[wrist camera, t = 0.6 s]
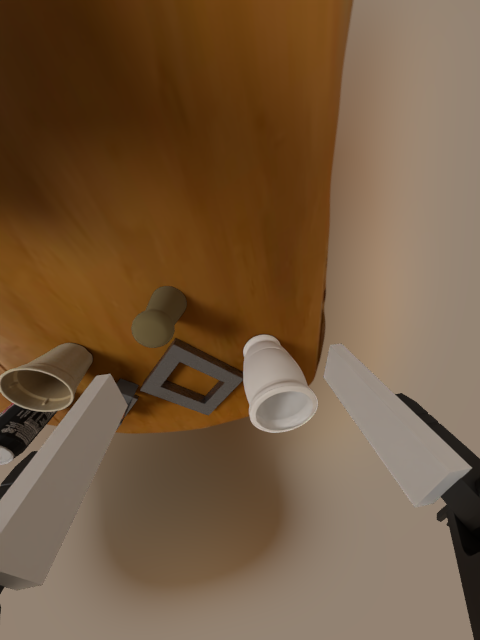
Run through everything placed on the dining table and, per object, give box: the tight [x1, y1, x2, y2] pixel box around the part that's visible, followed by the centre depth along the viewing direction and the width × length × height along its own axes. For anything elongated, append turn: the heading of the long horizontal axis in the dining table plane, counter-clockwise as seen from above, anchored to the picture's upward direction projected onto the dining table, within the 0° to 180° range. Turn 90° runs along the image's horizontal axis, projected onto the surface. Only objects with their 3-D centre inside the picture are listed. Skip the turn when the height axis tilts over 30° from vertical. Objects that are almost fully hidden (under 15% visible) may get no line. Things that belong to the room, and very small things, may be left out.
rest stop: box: [116, 378, 139, 404], centre depth 39 cm, size 4×2×3 cm, turn 52°
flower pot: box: [0, 343, 93, 412], centre depth 32 cm, size 9×9×9 cm
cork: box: [131, 286, 187, 348], centre depth 28 cm, size 6×6×11 cm
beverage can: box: [0, 403, 57, 465], centre depth 33 cm, size 7×7×12 cm
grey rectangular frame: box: [140, 338, 243, 415], centre depth 40 cm, size 17×14×2 cm
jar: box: [243, 335, 318, 433], centre depth 33 cm, size 11×10×15 cm
